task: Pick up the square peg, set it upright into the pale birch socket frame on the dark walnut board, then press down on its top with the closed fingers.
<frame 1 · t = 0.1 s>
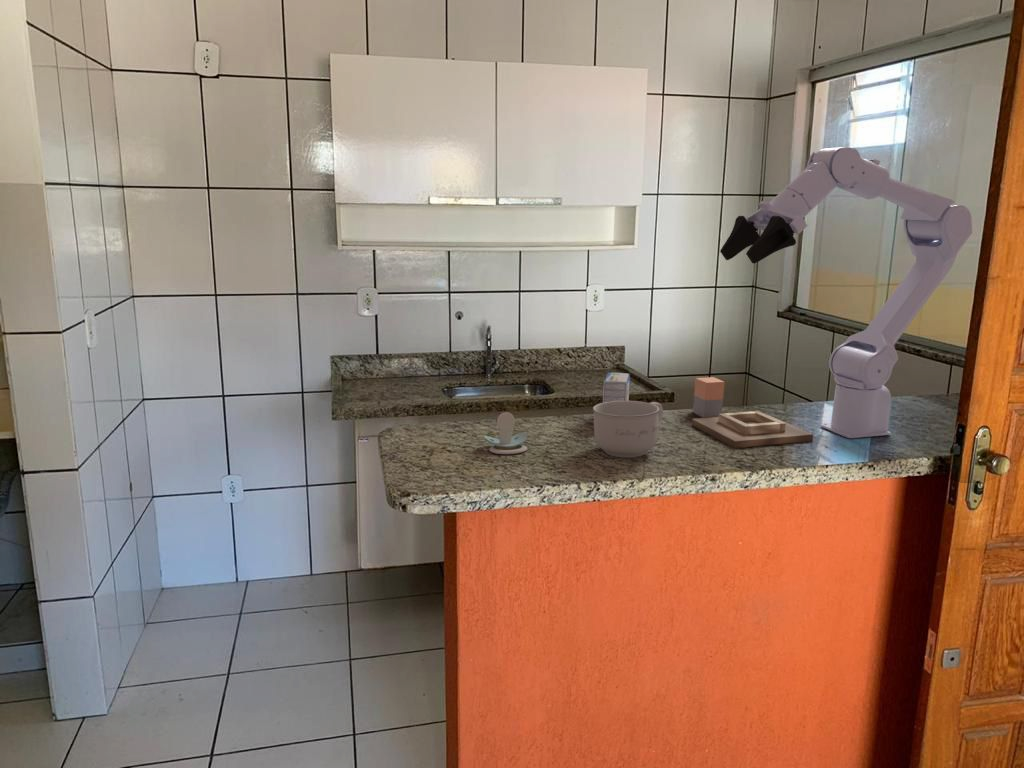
hand: (736, 257, 125), 32 cm above the table, tool tilted 50°, fingers open, 7 cm apart
square peg: (707, 414, 151), on the table
socket board: (750, 432, 139), on the table
pacifier: (506, 451, 127), on the table
teacup: (631, 452, 128), on the table
medicine box: (614, 422, 145), on the table
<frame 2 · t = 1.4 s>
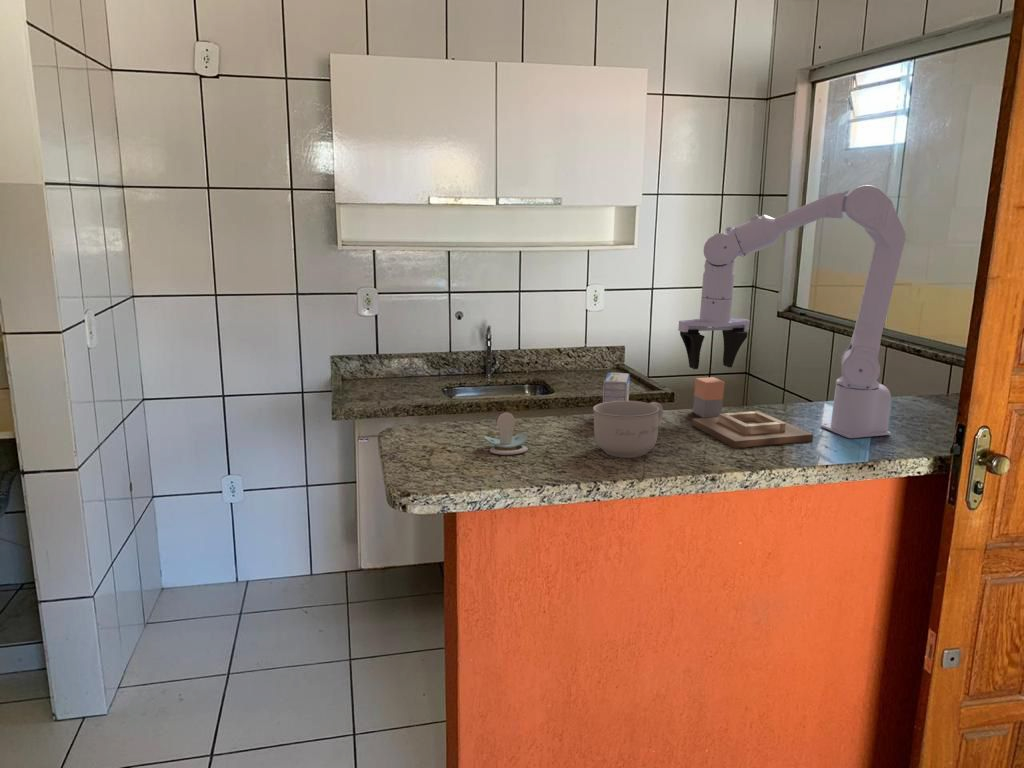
hand: (710, 367, 148), 10 cm above the table, tool pointing down, fingers open, 7 cm apart
nothing on the table moved.
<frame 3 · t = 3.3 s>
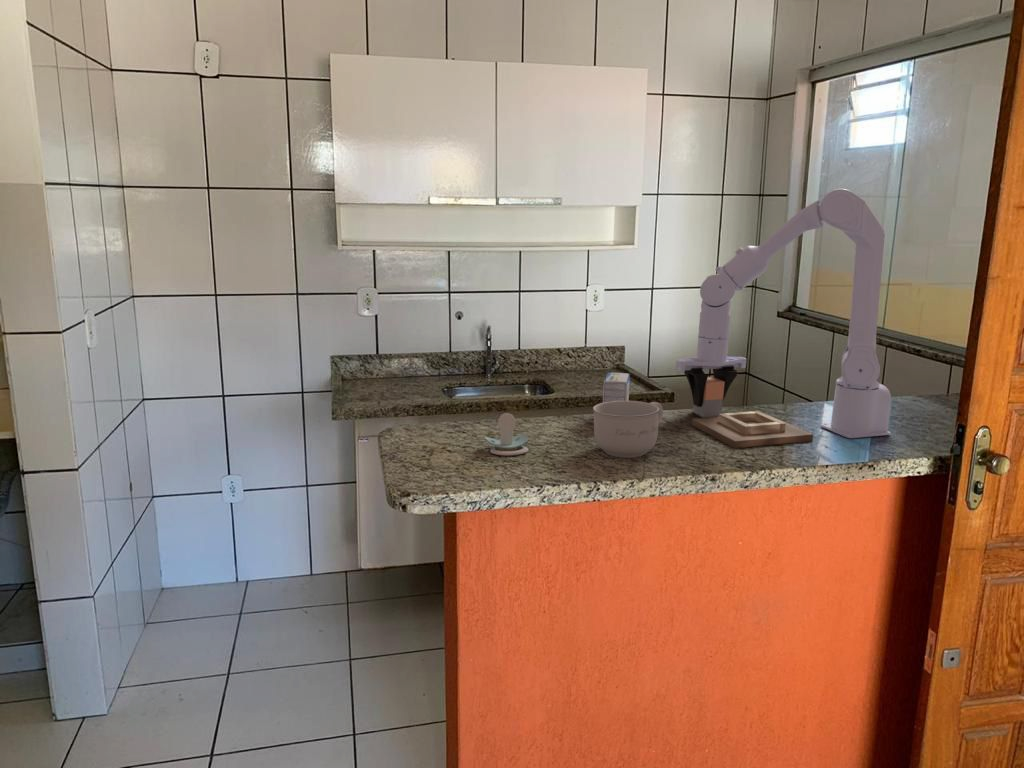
hand: (707, 404, 150), 2 cm above the table, tool pointing down, fingers closed on square peg, 4 cm apart
square peg: (707, 414, 151), on the table, touching gripper
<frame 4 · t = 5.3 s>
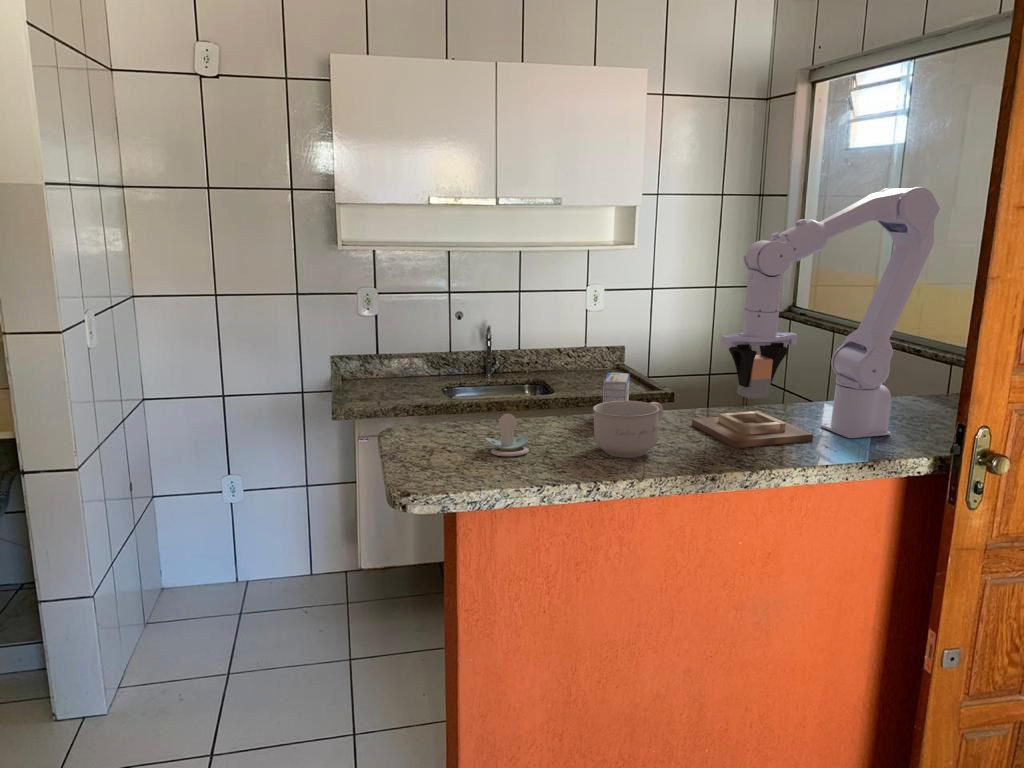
hand: (754, 385, 137), 9 cm above the table, tool pointing down, fingers closed on square peg, 4 cm apart
square peg: (752, 395, 138), point 7 cm above the table, touching gripper
when the fingers open (4 cm above the table, at t = 7.3 s): square peg stays where it is, resting on socket board.
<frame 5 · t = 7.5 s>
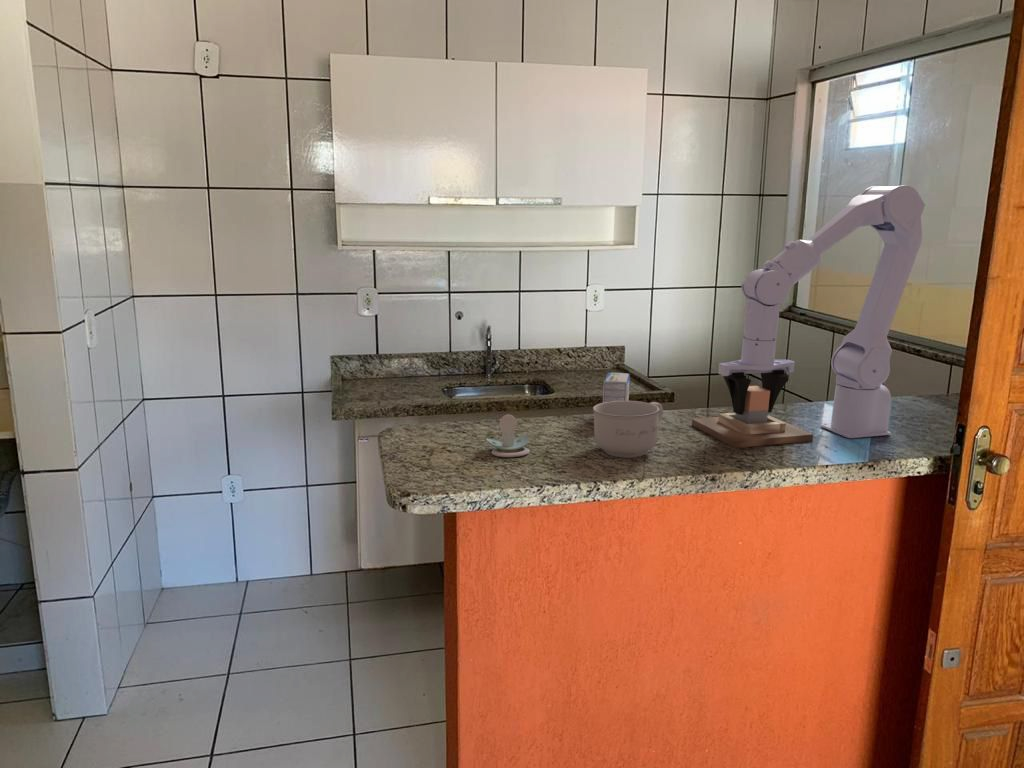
hand: (752, 412, 138), 4 cm above the table, tool pointing down, fingers open, 5 cm apart
square peg: (750, 426, 139), point 1 cm above the table, touching socket board
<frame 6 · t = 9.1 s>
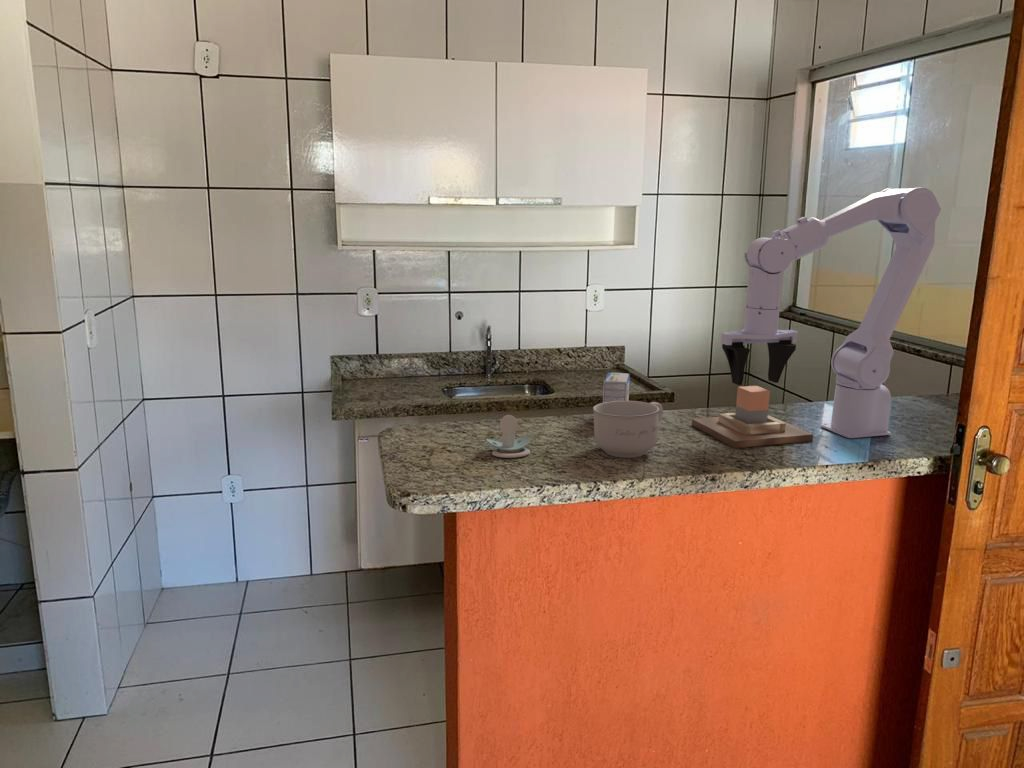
hand: (755, 382, 137), 9 cm above the table, tool pointing down, fingers open, 7 cm apart
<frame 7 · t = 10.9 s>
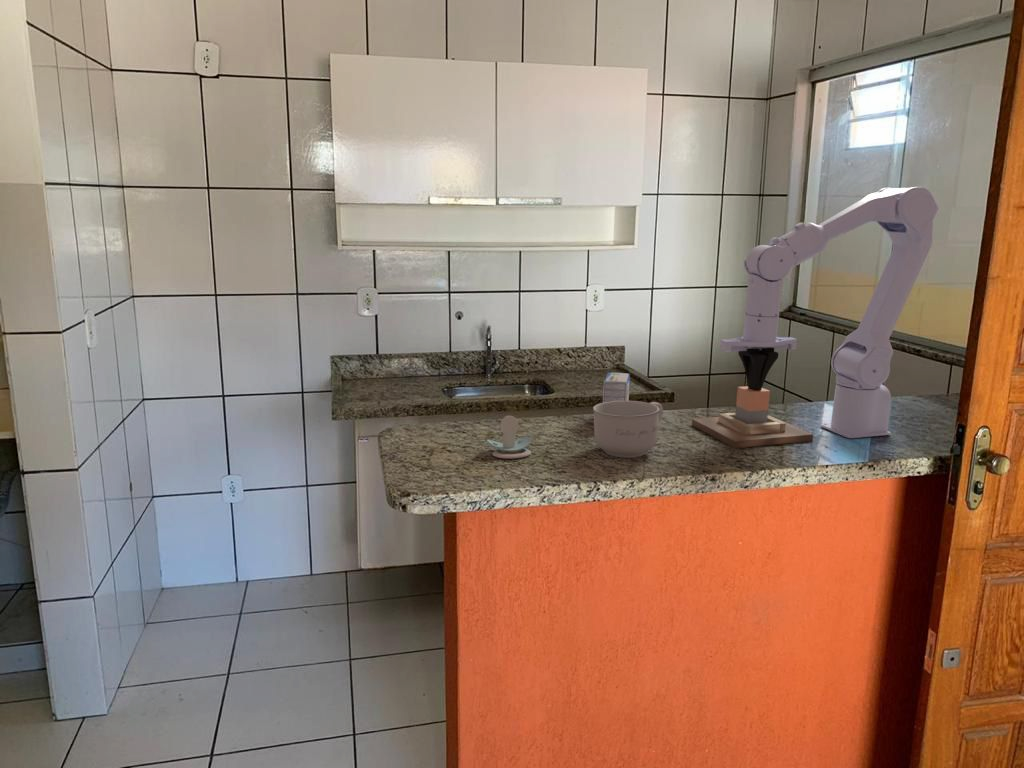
hand: (754, 389, 137), 8 cm above the table, tool pointing down, fingers closed, pressing on square peg
square peg: (750, 426, 139), point 1 cm above the table, touching gripper, socket board
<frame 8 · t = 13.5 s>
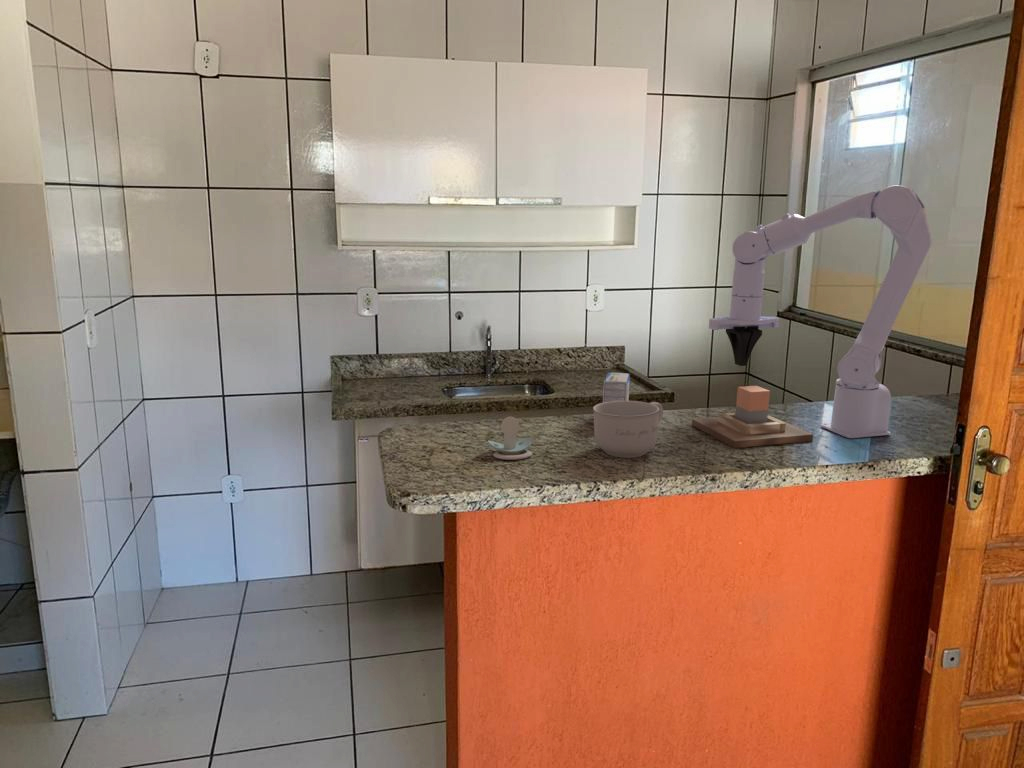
hand: (740, 364, 149), 10 cm above the table, tool pointing down, fingers closed
square peg: (750, 426, 139), point 1 cm above the table, touching socket board
at the end: square peg 0.2 cm off-centre on the socket board, point 1.2 cm above the socket board's base; square peg tilted 0°; the gripper is holding nothing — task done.
